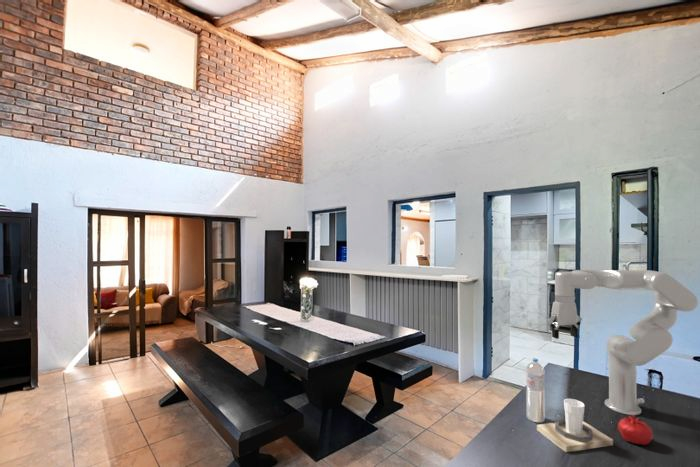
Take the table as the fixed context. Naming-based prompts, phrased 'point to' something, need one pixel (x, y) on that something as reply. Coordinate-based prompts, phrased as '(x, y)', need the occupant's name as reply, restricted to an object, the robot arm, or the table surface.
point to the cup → (574, 416)
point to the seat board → (573, 443)
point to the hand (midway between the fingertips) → (564, 337)
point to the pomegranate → (635, 430)
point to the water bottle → (535, 392)
